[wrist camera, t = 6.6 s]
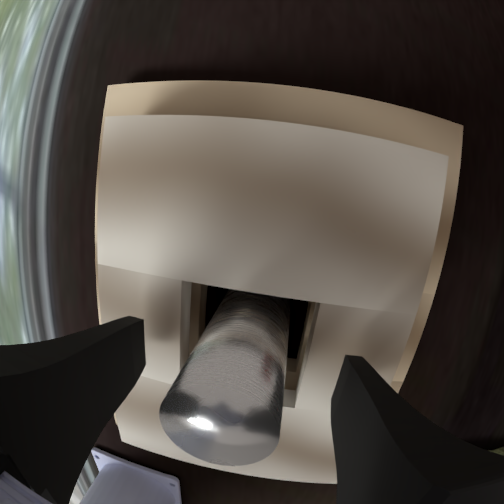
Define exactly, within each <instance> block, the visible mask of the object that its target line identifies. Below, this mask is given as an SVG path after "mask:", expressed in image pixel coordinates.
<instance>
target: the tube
mask: <svg viewBox="0 0 504 504" xmlns="http://www.w3.org/2000/svg"><path fill="white" fill-rule="evenodd" d="M289 324H290V302H289V299H288V298H284V297H277V296H271V295H265V294H258V293H252V292H246V291H240V290H234V289H229V290H228V292H227V293H226V295H225V297H224V298H223V300H222V302H221V303H220V305H219V307H218V308H217V310H216V312H215V314H214V315H213V317H212V319H211V320H210V322H209V324H208V325H207V327H206V329H205V330H204V332H203V334H202V335H201V337H200V339H199V341H198V342H197V344H196V346H195V347H194V349H193V351H192V352H191V354H190V356H189V357H188V359H187V361H186V362H185V364H184V366H183V368H182V369H181V371H180V373H179V374H178V376H177V378H176V379H175V381H174V383H173V384H172V386H171V388H170V389H169V391H168V393H167V395H166V396H165V398H164V400H163V401H162V403H161V406H160V409H159V418H160V422H161V425H162V428H163V430H164V431H165V433H166V434H167V436H168V437H169V438H170V439H171V441H172V442H173V443H175V444H176V445H177V446H178V447H179V448H180V449H182V450H183V451H185V452H186V453H188V454H190V455H192V456H194V457H196V458H198V459H200V460H203V461H206V462H209V463H213V464H218V465H224V466H243V465H249V464H253V463H256V462H259V461H261V460H263V459H265V458H266V457H268V456H269V455H270V454H271V453H272V452H273V451H274V450H275V449H276V447H277V445H278V443H279V439H280V429H281V420H282V410H283V399H284V388H285V377H286V365H287V352H288V339H289Z"/></svg>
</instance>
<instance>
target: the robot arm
mask: <svg viewBox="0 0 504 504" xmlns="http://www.w3.org/2000/svg"><path fill="white" fill-rule="evenodd" d="M145 366H146V355H145V336H144V319H141V318H137V317H133V316H126V317H122V318H119V319H116V320H113V321H110V322H107V323H104V324H101V325H98V326H95V327H93V328H90V329H87V330H84V331H80V332H77V333H74V334H70V335H67V336H64V337H60V338H56V339H51V340H47V341H41V342H36V343H27V344H17V345H0V504H69V501H70V498H71V495H72V493H73V490H74V487H75V485H76V482H77V480H78V478H79V475H80V473H81V470H82V468H83V466H84V464H85V462H86V460H87V458H88V456H89V454H90V452H92V454H93V457H94V459H95V462H96V464H97V467H98V469H99V474H98V475H97V477H96V478H95V480H94V482H93V483H92V485H91V486H90V488H89V489H88V491H87V492H86V494H85V495H84V497H83V499H82V500H81V502H80V503H79V504H182V502H181V492H180V482H179V479H178V478H177V477H175V476H172V475H168V474H165V473H162V472H159V471H156V470H152V469H149V468H147V467H144V466H141V465H138V464H135V463H132V462H130V461H127V460H124V459H122V458H119V457H117V456H114V455H112V454H110V453H107V452H105V451H102V450H100V449H98V448H93V446H94V444H95V442H96V440H97V439H98V437H99V435H100V433H101V431H102V430H103V428H104V427H105V425H106V424H107V423H108V421H109V420H110V419H111V417H112V416H113V414H114V413H115V412H116V410H117V409H118V408H119V406H120V405H121V404H122V402H123V401H124V400H125V399H126V397H127V396H128V394H129V393H130V392H131V390H132V389H133V388H134V386H135V385H136V383H137V381H138V379H139V378H140V376H141V374H142V372H143V370H144V368H145ZM331 429H332V438H333V446H334V454H335V462H336V471H337V501H336V504H504V455H500V454H497V453H494V452H491V451H488V450H484V449H482V448H479V447H477V446H475V445H472V444H470V443H468V442H466V441H464V440H462V439H460V438H458V437H456V436H454V435H452V434H451V433H449V432H447V431H445V430H444V429H442V428H440V427H439V426H437V425H436V424H434V423H433V422H431V421H430V420H429V419H427V418H426V417H425V416H423V415H422V414H421V413H419V412H418V411H417V410H416V409H414V408H413V407H412V406H411V405H410V404H409V403H408V402H406V401H405V400H404V399H403V398H402V397H401V396H400V395H399V394H398V393H397V392H396V391H395V390H394V389H393V388H392V387H391V386H390V385H389V384H388V383H387V382H386V381H385V380H384V379H383V378H382V377H381V376H380V375H379V374H378V372H377V371H376V370H375V369H374V368H373V367H372V366H371V365H370V364H369V363H368V362H367V361H366V360H365V359H364V358H363V357H362V356H354V355H345V357H344V361H343V364H342V367H341V370H340V373H339V377H338V380H337V383H336V386H335V389H334V392H333V395H332V397H331ZM92 448H93V449H92Z"/></svg>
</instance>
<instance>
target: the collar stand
mask: <svg viewBox="0 0 504 504" xmlns="http://www.w3.org/2000/svg"><path fill="white" fill-rule="evenodd" d="M462 139H463V125H460V124H457V123H454V122H451V121H448V120H445V119H442V118H439V117H436V116H433V115H429V114H426V113H423V112H419V111H416V110H412V109H409V108H405V107H401V106H397V105H393V104H389V103H385V102H381V101H377V100H372V99H367V98H363V97H358V96H353V95H348V94H342V93H336V92H331V91H324V90H318V89H311V88H304V87H296V86H287V85H278V84H267V83H254V82H237V81H201V80H193V81H157V82H140V83H128V84H117V85H108V89H107V94H106V100H105V107H104V114H103V121H102V128H101V137H100V146H99V156H98V168H97V183H96V205H95V263H96V285H97V300H98V312H99V323H100V325H101V324H104V323H107V322H110V321H113V320H116V319H119V318H122V317H126V316H133V317H137V318H141V319H144V336H145V355H146V366H145V368H144V370H143V372H142V374H141V376H140V378H139V379H138V381H137V383H136V385H135V386H134V388H133V389H132V390H131V392H130V393H129V394H128V396H127V397H126V399H125V400H124V401H123V402H122V404H121V405H120V406H119V408H118V409H117V410H116V412H115V413H114V417H115V422H116V424H117V425H118V428H119V432H120V436H121V440H122V441H123V442H125V443H128V444H131V445H134V446H136V447H139V448H142V449H145V450H148V451H151V452H154V453H157V454H160V455H164V456H167V457H170V458H174V459H177V460H181V461H184V462H188V463H192V464H196V465H200V466H204V467H209V468H213V469H218V470H222V471H227V472H232V473H238V474H243V475H249V476H256V477H262V478H270V479H278V480H287V481H297V482H310V483H330V484H337V471H336V462H335V454H334V446H333V438H332V429H331V397H332V395H333V392H334V389H335V386H336V383H337V380H338V377H339V373H340V370H341V367H342V364H343V361H344V357H345V355H354V356H362V357H363V358H364V359H365V360H366V361H367V362H368V363H369V364H370V365H371V366H372V367H373V368H374V369H375V370H376V371H377V372H378V374H379V375H380V376H381V377H382V378H383V379H384V380H385V381H386V382H387V383H388V384H389V385H390V386H391V387H392V388H393V389H394V390H395V391H396V392H397V393H398V392H399V390H400V388H401V386H402V383H403V381H404V379H405V376H406V374H407V372H408V369H409V367H410V364H411V362H412V359H413V357H414V354H415V352H416V349H417V346H418V344H419V341H420V338H421V335H422V332H423V330H424V327H425V324H426V321H427V318H428V315H429V312H430V308H431V305H432V302H433V299H434V295H435V292H436V288H437V285H438V281H439V277H440V274H441V270H442V266H443V262H444V258H445V253H446V249H447V244H448V240H449V235H450V230H451V225H452V219H453V214H454V208H455V202H456V195H457V188H458V181H459V172H460V163H461V152H462ZM208 285H210V286H216V287H222V288H228V289H234V290H240V291H246V292H252V293H258V294H265V295H271V296H277V297H284V298H291V299H297V300H304V301H309V303H308V308H307V313H306V318H305V322H304V327H303V332H302V337H301V341H300V346H299V350H298V355H297V359H293V358H287V365H286V377H285V388H284V399H283V410H282V420H281V429H280V439H279V443H278V445H277V447H276V449H275V450H274V451H273V452H272V453H271V454H270V455H269V456H268V457H266V458H265V459H263V460H261V461H259V462H256V463H253V464H249V465H243V466H224V465H218V464H213V463H209V462H206V461H203V460H200V459H198V458H196V457H194V456H192V455H190V454H188V453H186V452H185V451H183V450H182V449H180V448H179V447H178V446H177V445H176V444H175V443H173V442H172V441H171V439H170V438H169V437H168V436H167V434H166V433H165V431H164V430H163V428H162V425H161V422H160V418H159V409H160V406H161V403H162V401H163V400H164V398H165V396H166V395H167V393H168V391H169V389H170V388H171V386H172V384H173V383H174V381H175V379H176V378H177V376H178V374H179V373H180V371H181V369H182V368H183V366H184V364H185V362H186V361H187V359H188V357H189V356H190V354H191V352H192V351H193V349H194V347H195V346H196V344H197V342H198V341H199V339H200V337H201V335H202V334H203V332H204V330H205V317H206V302H207V288H208Z"/></svg>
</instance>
